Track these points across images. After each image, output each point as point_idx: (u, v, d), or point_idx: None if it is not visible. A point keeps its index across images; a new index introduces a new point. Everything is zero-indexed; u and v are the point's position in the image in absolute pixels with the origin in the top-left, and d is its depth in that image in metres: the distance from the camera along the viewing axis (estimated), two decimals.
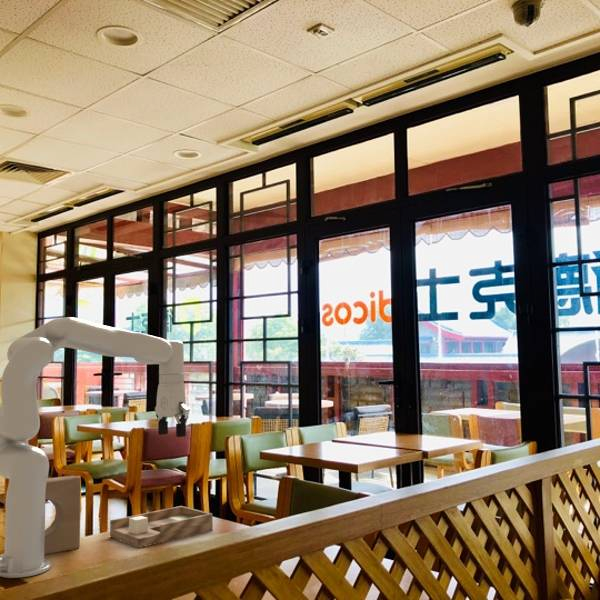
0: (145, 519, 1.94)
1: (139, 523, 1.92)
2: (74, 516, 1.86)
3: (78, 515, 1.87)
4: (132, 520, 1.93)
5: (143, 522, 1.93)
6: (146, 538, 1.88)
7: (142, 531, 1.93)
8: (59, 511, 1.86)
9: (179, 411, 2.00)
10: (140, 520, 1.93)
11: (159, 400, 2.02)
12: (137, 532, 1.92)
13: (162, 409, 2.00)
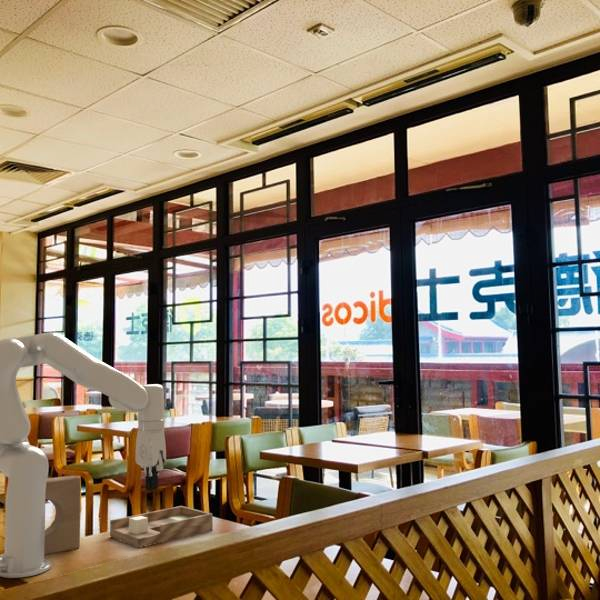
0: (145, 519, 1.94)
1: (139, 523, 1.92)
2: (74, 516, 1.86)
3: (78, 515, 1.87)
4: (132, 520, 1.93)
5: (143, 522, 1.93)
6: (146, 538, 1.88)
7: (142, 531, 1.93)
8: (59, 511, 1.86)
9: None
10: (140, 520, 1.93)
11: (138, 448, 1.92)
12: (137, 532, 1.92)
13: (142, 458, 1.90)
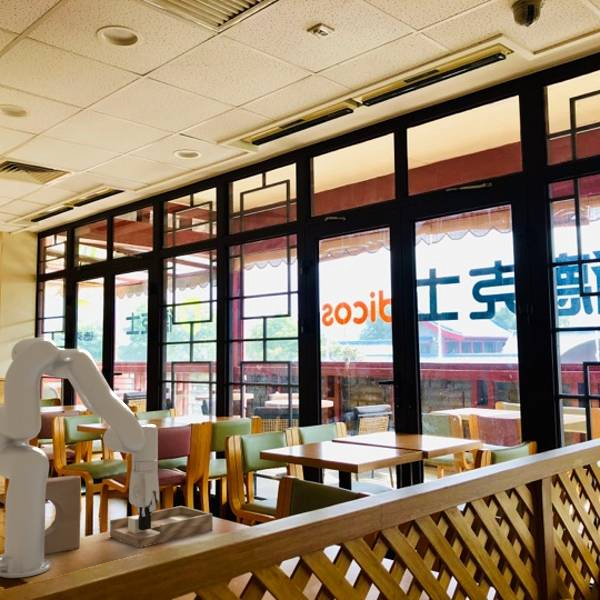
0: None
1: (138, 522, 1.93)
2: (74, 516, 1.86)
3: (78, 515, 1.87)
4: (131, 519, 1.94)
5: None
6: (146, 538, 1.88)
7: (141, 530, 1.94)
8: (59, 511, 1.86)
9: None
10: None
11: (132, 487, 1.93)
12: (136, 531, 1.92)
13: (135, 498, 1.91)
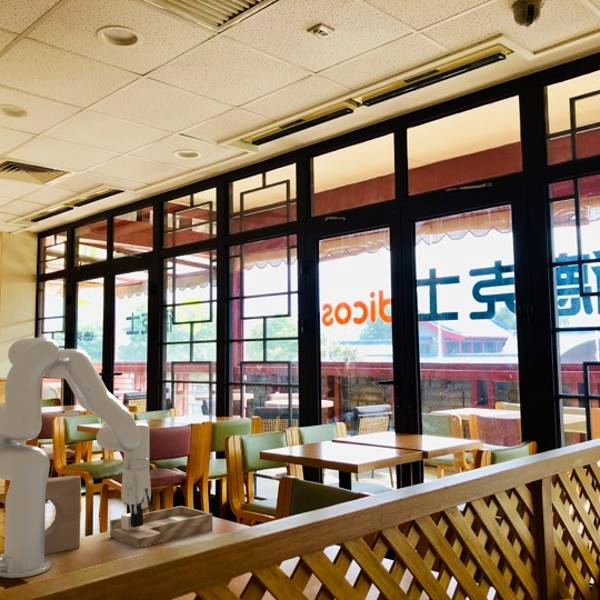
0: None
1: None
2: (74, 516, 1.86)
3: (78, 515, 1.87)
4: (124, 517, 1.97)
5: None
6: (146, 538, 1.88)
7: (134, 527, 1.97)
8: (59, 511, 1.86)
9: None
10: None
11: (124, 485, 1.96)
12: (129, 528, 1.96)
13: (127, 495, 1.95)
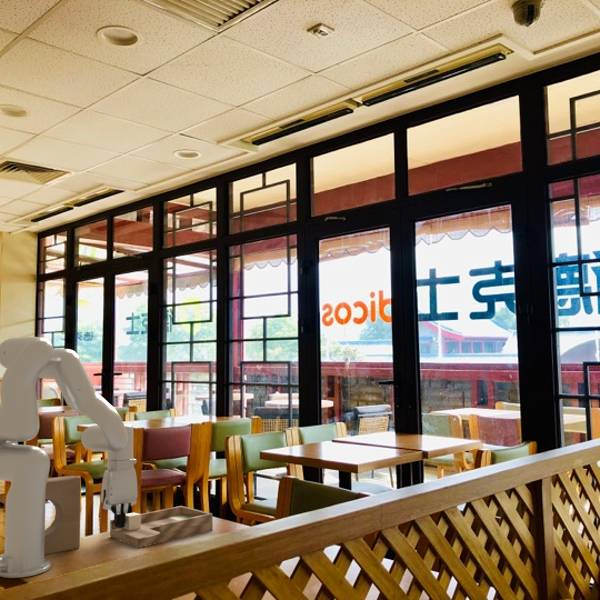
0: (138, 515, 1.98)
1: (132, 519, 1.97)
2: (74, 516, 1.86)
3: (78, 515, 1.87)
4: None
5: (136, 518, 1.98)
6: (146, 538, 1.88)
7: (135, 527, 1.97)
8: (59, 511, 1.86)
9: None
10: (133, 516, 1.97)
11: None
12: (130, 528, 1.96)
13: None
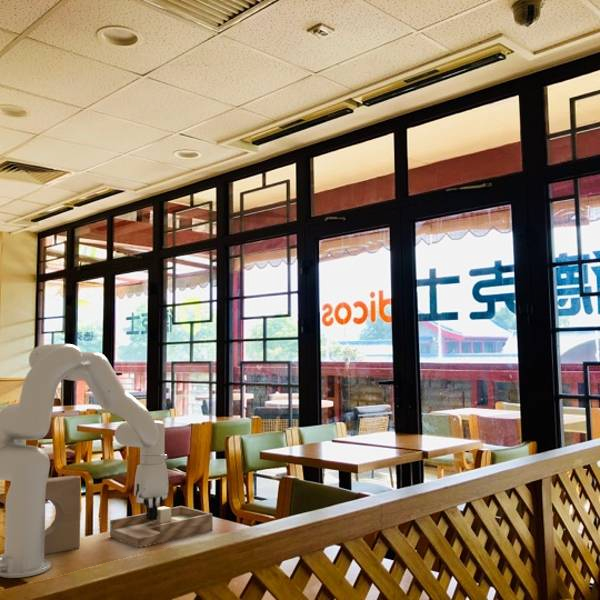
0: (169, 509, 2.06)
1: (163, 513, 2.05)
2: (74, 516, 1.86)
3: (78, 515, 1.87)
4: None
5: (167, 512, 2.06)
6: (146, 538, 1.88)
7: (166, 520, 2.05)
8: (59, 511, 1.86)
9: None
10: (164, 510, 2.05)
11: None
12: (161, 521, 2.04)
13: None
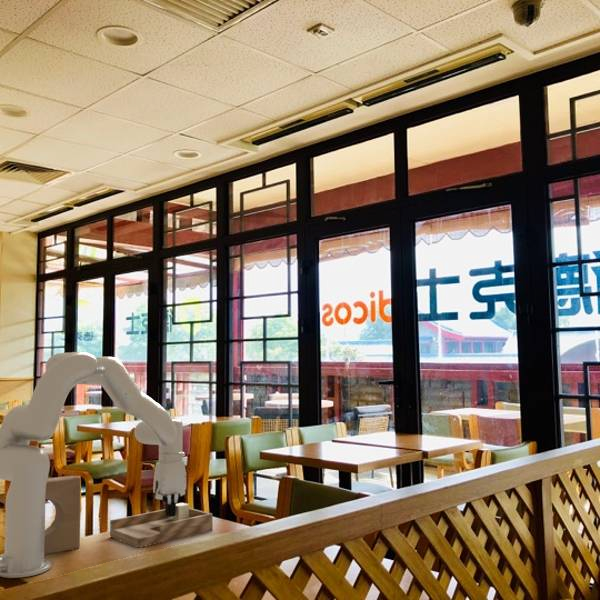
0: (187, 505, 2.11)
1: (181, 509, 2.10)
2: (74, 516, 1.86)
3: (78, 515, 1.87)
4: None
5: (185, 508, 2.11)
6: (146, 538, 1.88)
7: (184, 516, 2.10)
8: (59, 511, 1.86)
9: None
10: (182, 506, 2.10)
11: None
12: (180, 517, 2.09)
13: None
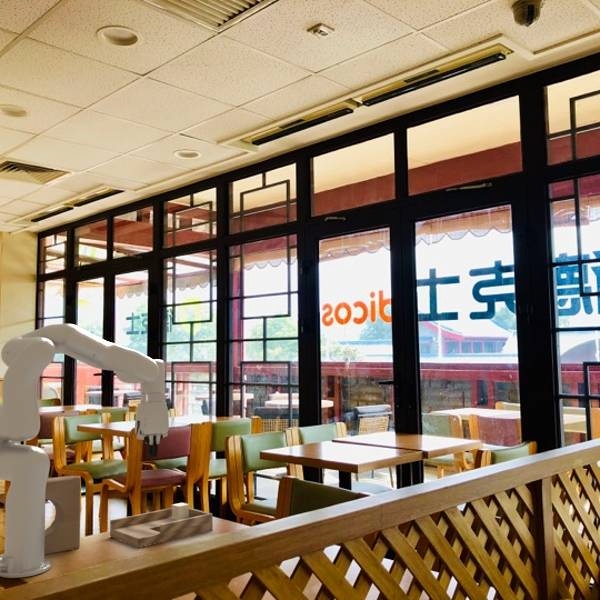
0: (187, 505, 2.11)
1: (181, 509, 2.10)
2: (74, 516, 1.86)
3: (78, 515, 1.87)
4: (175, 506, 2.10)
5: (185, 508, 2.11)
6: (146, 538, 1.88)
7: (184, 516, 2.10)
8: (59, 511, 1.86)
9: None
10: (182, 506, 2.10)
11: None
12: (180, 517, 2.09)
13: None
